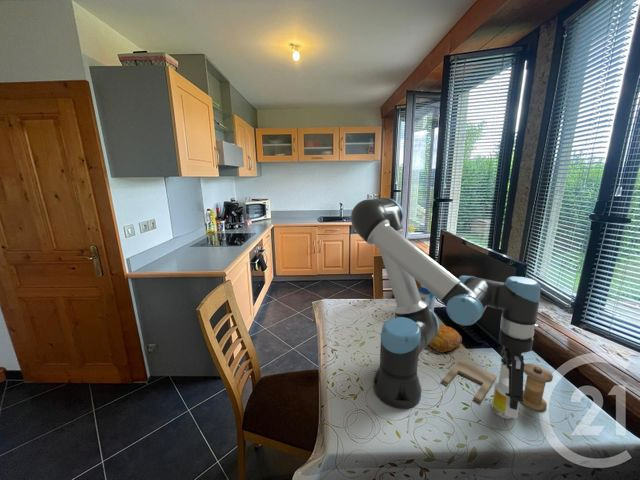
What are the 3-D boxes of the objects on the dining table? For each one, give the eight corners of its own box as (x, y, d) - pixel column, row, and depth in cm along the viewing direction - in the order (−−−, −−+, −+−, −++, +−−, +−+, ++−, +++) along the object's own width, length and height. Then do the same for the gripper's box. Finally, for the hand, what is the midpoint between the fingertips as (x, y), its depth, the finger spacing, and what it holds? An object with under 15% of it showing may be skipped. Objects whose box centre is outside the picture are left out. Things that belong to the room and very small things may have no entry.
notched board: (480, 403, 82) (480, 400, 82) (441, 382, 90) (441, 379, 90) (496, 378, 92) (496, 375, 92) (460, 361, 101) (460, 359, 101)
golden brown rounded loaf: (466, 350, 112) (470, 332, 110) (444, 357, 103) (448, 339, 102) (436, 333, 124) (439, 317, 122) (414, 338, 115) (417, 321, 114)
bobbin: (544, 415, 77) (551, 380, 75) (515, 401, 83) (521, 368, 80) (548, 402, 82) (555, 369, 80) (520, 389, 87) (526, 358, 85)
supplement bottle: (515, 423, 75) (521, 392, 73) (492, 415, 78) (497, 385, 76) (512, 408, 80) (517, 379, 78) (490, 401, 82) (495, 373, 80)
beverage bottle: (436, 319, 132) (440, 281, 128) (419, 319, 132) (422, 281, 128) (429, 311, 140) (432, 275, 136) (413, 311, 140) (416, 275, 136)
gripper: (545, 362, 61) (532, 439, 65) (524, 316, 82) (515, 375, 86) (506, 353, 64) (496, 427, 68) (495, 311, 86) (488, 369, 90)
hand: (507, 398), depth 77 cm, fingers open, 13 cm apart
